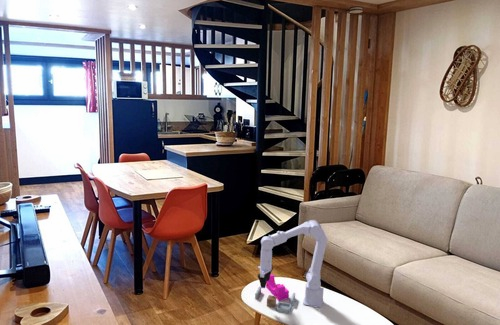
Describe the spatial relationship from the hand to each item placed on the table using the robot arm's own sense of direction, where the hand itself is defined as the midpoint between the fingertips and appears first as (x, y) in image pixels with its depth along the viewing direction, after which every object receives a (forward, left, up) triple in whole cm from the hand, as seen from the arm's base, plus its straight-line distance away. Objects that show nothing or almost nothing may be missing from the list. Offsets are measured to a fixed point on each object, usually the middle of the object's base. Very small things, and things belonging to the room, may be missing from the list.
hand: (264, 284), depth 205 cm
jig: (-5, -1, -10) cm, 11 cm away
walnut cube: (-4, +2, -10) cm, 11 cm away
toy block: (-4, -11, -10) cm, 16 cm away
